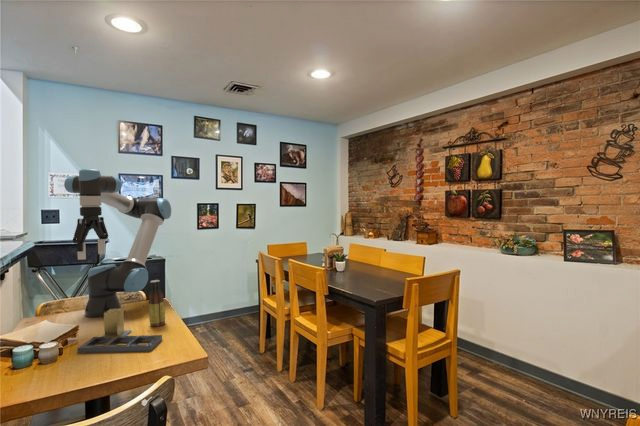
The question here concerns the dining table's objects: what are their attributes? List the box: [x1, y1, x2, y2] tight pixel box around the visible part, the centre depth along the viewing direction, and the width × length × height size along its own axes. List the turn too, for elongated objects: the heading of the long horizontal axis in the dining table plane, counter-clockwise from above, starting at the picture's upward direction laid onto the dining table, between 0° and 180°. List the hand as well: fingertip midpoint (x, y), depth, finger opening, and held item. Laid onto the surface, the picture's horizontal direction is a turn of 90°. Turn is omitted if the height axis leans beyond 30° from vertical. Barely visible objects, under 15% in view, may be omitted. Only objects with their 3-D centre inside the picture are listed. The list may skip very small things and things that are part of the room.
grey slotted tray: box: [76, 334, 163, 354], centre depth 128 cm, size 10×26×2 cm, turn 93°
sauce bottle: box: [148, 279, 166, 328], centre depth 150 cm, size 7×6×20 cm
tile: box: [100, 329, 132, 337], centre depth 138 cm, size 9×9×1 cm
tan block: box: [103, 308, 125, 337], centre depth 137 cm, size 5×5×10 cm
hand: (92, 256), depth 143 cm, fingers open, 13 cm apart
